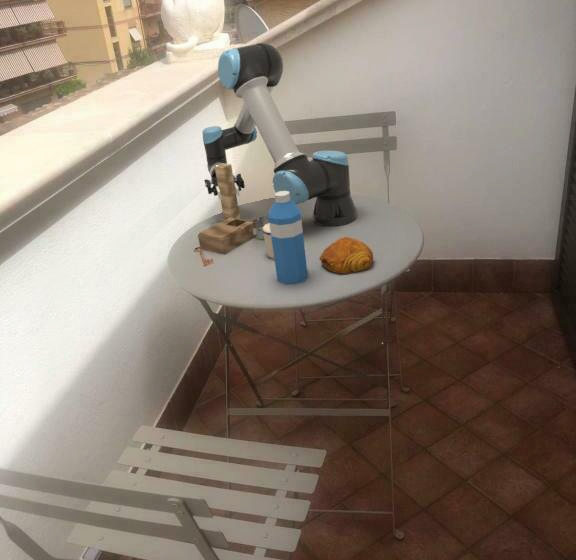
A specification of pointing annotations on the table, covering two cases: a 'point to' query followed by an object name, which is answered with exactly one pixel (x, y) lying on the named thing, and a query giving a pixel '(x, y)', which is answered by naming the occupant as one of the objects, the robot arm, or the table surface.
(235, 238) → the wooden sliding lid box
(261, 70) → the robot arm
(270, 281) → the table surface
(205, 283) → the table surface
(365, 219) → the table surface
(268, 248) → the teacup with lid
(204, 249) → the key
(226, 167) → the wooden key peg
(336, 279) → the table surface
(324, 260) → the croissant
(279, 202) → the water bottle
